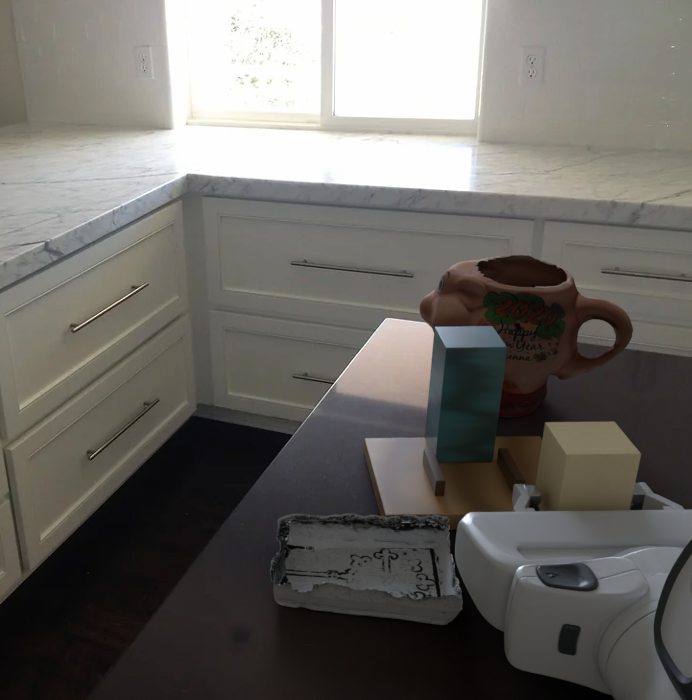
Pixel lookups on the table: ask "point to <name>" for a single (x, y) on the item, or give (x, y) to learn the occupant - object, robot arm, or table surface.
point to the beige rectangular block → (586, 467)
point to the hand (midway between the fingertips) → (576, 490)
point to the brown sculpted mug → (525, 321)
